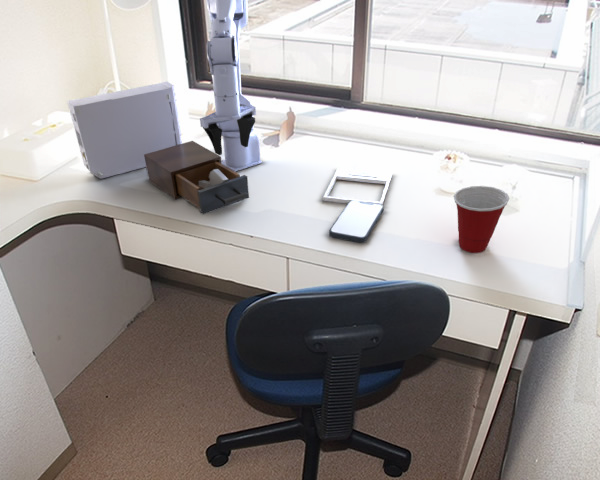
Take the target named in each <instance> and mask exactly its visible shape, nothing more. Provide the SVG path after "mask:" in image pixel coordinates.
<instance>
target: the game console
mask: <svg viewBox="0 0 600 480" xmlns="http://www.w3.org/2000/svg"><path fill="white" fill-rule="evenodd" d="M66 102H67V103H66V104H67V107H68V110H69V113H70V117H71V121H72V125H73V129H74V132H75V137H76V139H77V143H78V147H79V151H80V155H81V158H82V162H83V166H84V168H86V169H87V170H88V171H89V172H90V173H91V174H92V175H94V176H95V177H97V178H99V179H104V178H109V177H112V176H117V175H120V174H121V175H122V174H125V173H128V172H132V171H135V170H140V169H144V168H147V167H146V162H145V157H144V154H148V153H151V152H155V151H158V150H162V149H165V148H169V147H172V146H176V145H179V144H183V141H182V133H181V126H180V125H181V124H180V118H179V113H178V105H177V99H176V93H175V86H174V84H173V83H170V82H169V81H162V82H158V83H154V84H149V85H142V86H138V87H132V88H127V89H123V90H116V91H111V92H107V93H102V94H96V95H91V96H86V97H81V98H76V99H70V100H66Z"/></svg>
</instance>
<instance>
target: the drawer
mask: <svg viewBox="0 0 600 480" xmlns="http://www.w3.org/2000/svg"><path fill="white" fill-rule="evenodd" d="M214 169H218V170H219V171H221V172H222V173H223V174H224V175H225V176H226V177H227V178H228V179H229V180H228V181H225V182H222V183H219V184H216V185H213V186H210V187H208V188H202V187H199V181H208V182H209V181H210V178H209V175H210V172H211V171H213V170H214ZM174 175H175V181H176V187H177V193H178V194H179V195H181V196H182V198H183V199H184V200H186V201H188V202H189V203H190V204H192V205H193V206H195V207H196V208H198V209H199V211H200V214H202V215H205V214H208V213H211V212H213V211H217V210H219V209H222V208H224V207H227V206H230V205H233V204H235V203H238V202H241V201H243V200H246V199H249V198H250V197H249V196H250V194H249V193H250V192H249V182H248V176H247V175H245V174H243V175H240V173H238V172H237V171H236V172H234V171H233V170H231V169H229V168H227V167H226V166H224V165H222V164H220V163H219V162H217V161H214V162H210V163H207V164H204V165H201V166H198V167H194V168H191V169H188V170H185V171H182V172H179V173H175V174H174Z"/></svg>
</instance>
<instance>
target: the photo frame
mask: <svg viewBox="0 0 600 480" xmlns="http://www.w3.org/2000/svg"><path fill="white" fill-rule="evenodd" d="M392 177H393V172H392V171H391V172H390V171H379V170H371V169H370V170H369V169H359V168H348V167H337V169H336V171H335V173H334V175H333V177H332V178H331V180H330V183H329V184H328V187H327V189H326V190H325V193H324V194H323V196H322V201H325V202H331V203H332V202H335V203H343V204H348V203H349V202H350V201H352V200H355V201H361V202H367V203H373V204H379V205H382V206H384V201H385V199H386V196H387V193H388V190H389V187H390V184H391V181H392ZM337 180H342V181H351V182H360V183H371V184H380V185H381V184H383V185H385V186H384V189H383V191H382V195H381V198H380V201H376V200H375V201H374V200H365V199H357V198H347V197H337V196H330V193H331V192H332V189H333V187H334V185H335V183H336V181H337Z"/></svg>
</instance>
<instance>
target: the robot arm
mask: <svg viewBox="0 0 600 480" xmlns="http://www.w3.org/2000/svg"><path fill="white" fill-rule="evenodd" d="M206 6H207V11H208V15H209V19H210V22H211V28H210V31H211V32H210V39H209V40H206V57H207V61H208V64H209V65H208V66H209V70H210V71H209V72H210V75H211V78H212V79H211V80H212V87H213V96H214V106H215V111H214V112H212V113H210V114H208V115H205V116H203V117H200V118H199V122H200V127H201V128H202V129H203V130H204V132H205V133H206V135H207V136H208V138H209V140H210V143H211V145H212V147H213V151H214V153H215V154H217V155H219V156H222V155H224V159H223V160H222V159H221V163H222V165H224V166H226V167H227V168H229V169H231V170H233V171H234V172H236V173H237V172H239V171H242V170H245V169H247V168H250V167H253V166H258V165H259V164H262V163H263V161H262V160H261V148H260V139H259V136H258V133H257V132H256V130H254V125H255V123H256V118H255V117H254V116H257V110H256V106H254V105H253V104H252V102H251V100H249V99H248V98H247V97H246V96H244V95H243V94H242V79H241V75H242V74H241V56H240V36H241V30H242V29H243V28H244V27H246V26H247V25H248V21H249V18H248V0H206ZM222 143H223V145H222ZM222 146H223V147H222ZM223 152H224V154H223Z"/></svg>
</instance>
